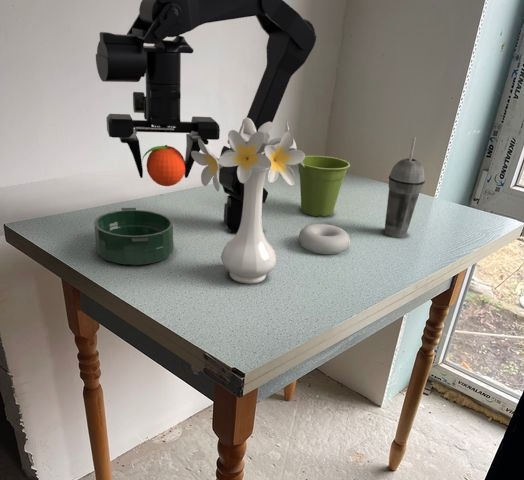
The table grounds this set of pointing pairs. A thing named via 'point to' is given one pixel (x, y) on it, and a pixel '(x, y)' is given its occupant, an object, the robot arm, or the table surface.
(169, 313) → the table surface
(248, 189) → the flower vase
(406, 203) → the beverage cup
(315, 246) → the donut
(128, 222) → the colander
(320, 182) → the plant pot
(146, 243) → the colander handles
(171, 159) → the clementine
